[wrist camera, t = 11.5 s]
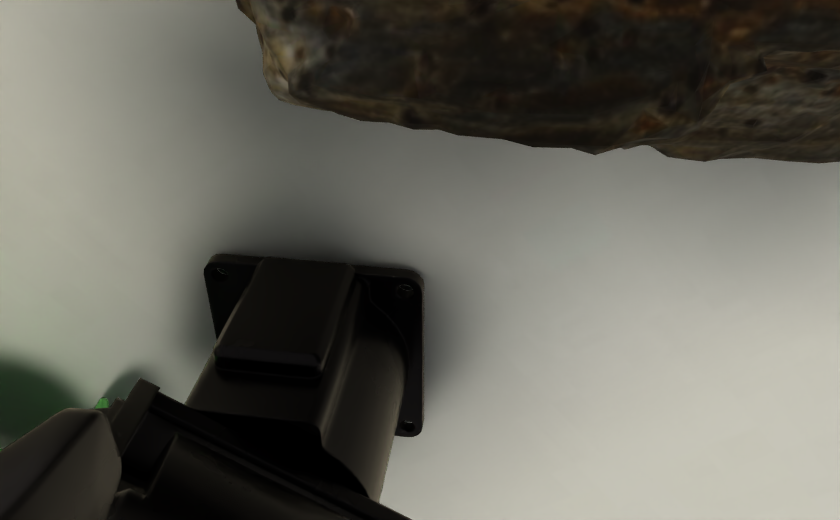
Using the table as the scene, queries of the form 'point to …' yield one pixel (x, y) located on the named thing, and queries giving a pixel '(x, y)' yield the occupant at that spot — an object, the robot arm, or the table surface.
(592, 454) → the table surface
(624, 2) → the stone
